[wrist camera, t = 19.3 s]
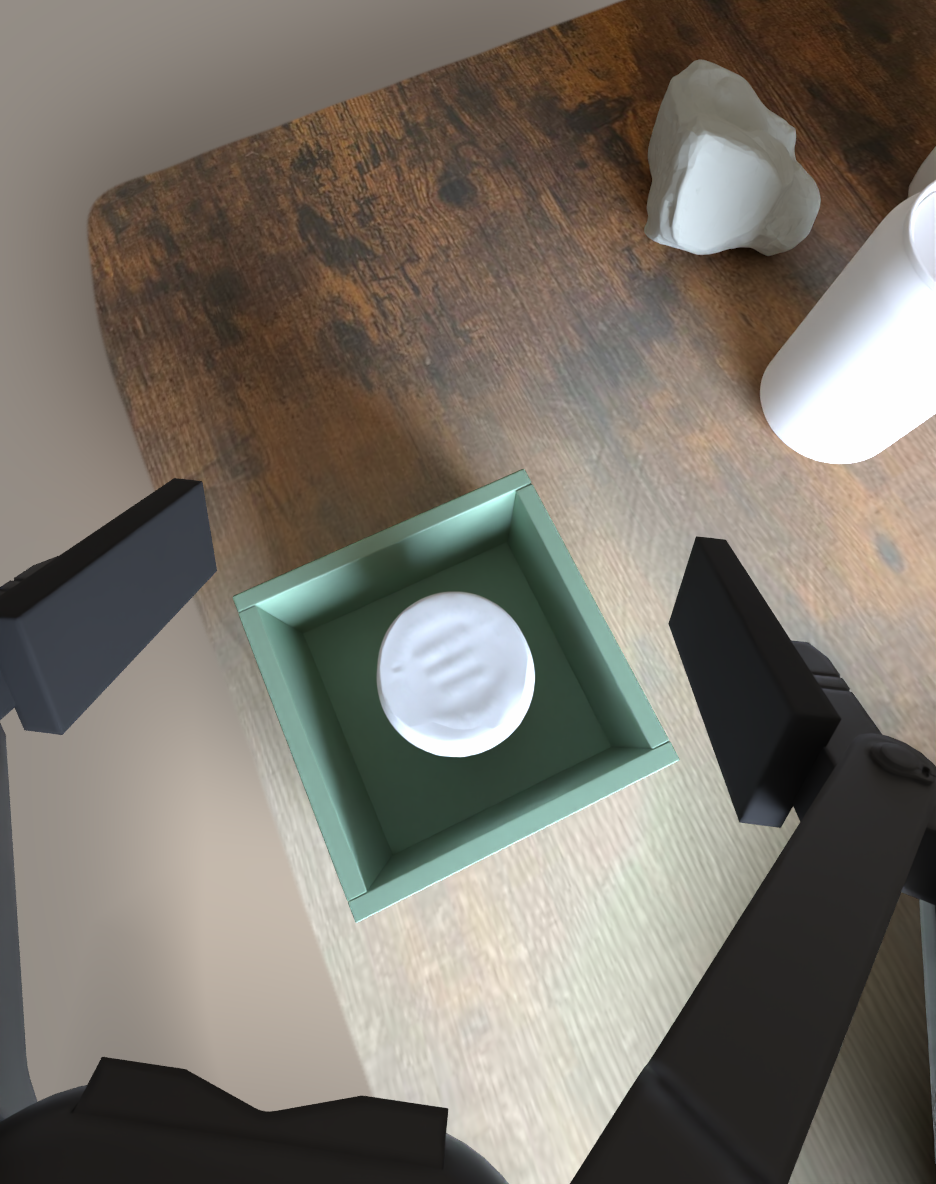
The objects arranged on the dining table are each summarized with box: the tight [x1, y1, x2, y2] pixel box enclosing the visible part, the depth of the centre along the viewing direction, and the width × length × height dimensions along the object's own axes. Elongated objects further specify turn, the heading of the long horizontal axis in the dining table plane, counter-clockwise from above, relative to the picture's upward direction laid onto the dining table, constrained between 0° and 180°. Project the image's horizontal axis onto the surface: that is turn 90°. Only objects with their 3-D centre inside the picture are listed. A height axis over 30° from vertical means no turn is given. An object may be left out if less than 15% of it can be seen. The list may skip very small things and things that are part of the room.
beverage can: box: [760, 180, 936, 464], centre depth 29 cm, size 8×8×12 cm
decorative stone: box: [644, 60, 821, 256], centre depth 35 cm, size 11×9×10 cm
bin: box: [233, 469, 679, 923], centre depth 27 cm, size 14×14×8 cm
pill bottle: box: [377, 592, 535, 757], centre depth 25 cm, size 6×6×11 cm
